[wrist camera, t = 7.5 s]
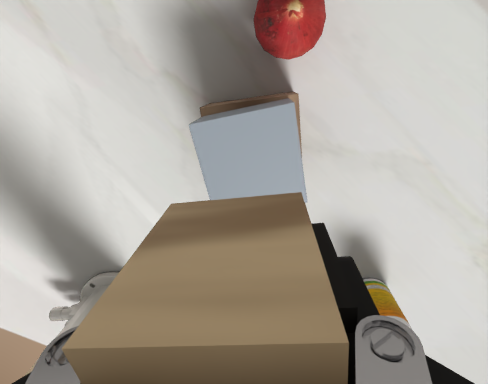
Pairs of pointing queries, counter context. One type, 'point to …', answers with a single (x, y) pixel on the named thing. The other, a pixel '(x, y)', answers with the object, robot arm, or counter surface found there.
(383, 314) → the supplement bottle
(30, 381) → the robot arm
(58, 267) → the counter surface
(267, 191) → the grey square block
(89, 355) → the oak block
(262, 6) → the onion
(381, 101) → the counter surface
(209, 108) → the tower base
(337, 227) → the counter surface
